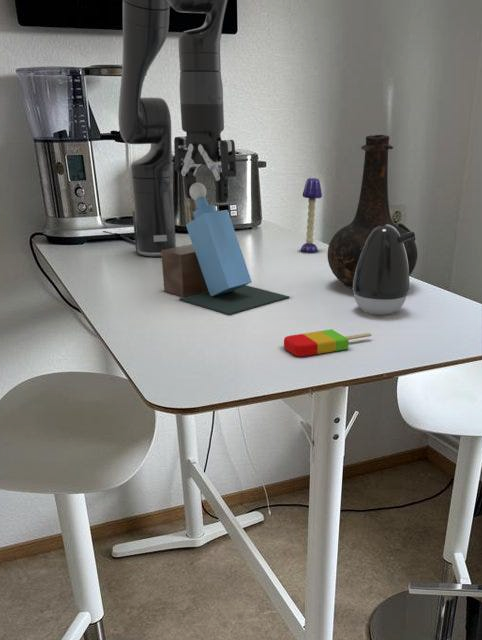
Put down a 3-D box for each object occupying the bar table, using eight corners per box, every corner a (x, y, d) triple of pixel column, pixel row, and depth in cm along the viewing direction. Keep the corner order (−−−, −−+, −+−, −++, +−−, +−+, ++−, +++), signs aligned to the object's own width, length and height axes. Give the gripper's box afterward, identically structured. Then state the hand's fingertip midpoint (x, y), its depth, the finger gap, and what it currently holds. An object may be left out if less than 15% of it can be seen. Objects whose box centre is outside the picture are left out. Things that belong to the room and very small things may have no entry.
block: (164, 291, 139) (160, 250, 135) (208, 280, 147) (207, 241, 143) (183, 296, 136) (180, 254, 132) (228, 285, 143) (227, 245, 139)
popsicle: (280, 347, 110) (280, 336, 109) (361, 334, 116) (362, 323, 115) (296, 358, 106) (297, 346, 105) (379, 344, 112) (380, 333, 111)
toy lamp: (320, 249, 174) (323, 177, 166) (319, 253, 170) (322, 180, 162) (301, 249, 175) (302, 177, 166) (299, 253, 171) (301, 179, 162)
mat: (179, 300, 134) (179, 298, 134) (239, 285, 144) (239, 283, 144) (229, 315, 125) (229, 313, 125) (289, 297, 136) (289, 296, 135)
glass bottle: (425, 296, 137) (443, 138, 123) (337, 299, 134) (345, 138, 121) (398, 274, 152) (410, 132, 138) (318, 277, 150) (323, 132, 136)
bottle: (251, 297, 136) (254, 191, 125) (228, 303, 132) (230, 195, 121) (204, 281, 143) (204, 180, 133) (182, 286, 139) (179, 182, 129)
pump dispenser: (401, 322, 122) (410, 231, 115) (344, 315, 125) (349, 227, 118) (413, 306, 131) (421, 221, 123) (359, 301, 134) (364, 217, 126)
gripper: (245, 102, 120) (247, 202, 128) (191, 100, 129) (196, 194, 137) (213, 102, 115) (216, 206, 124) (159, 100, 124) (166, 198, 132)
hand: (206, 200), depth 130 cm, fingers open, 8 cm apart
